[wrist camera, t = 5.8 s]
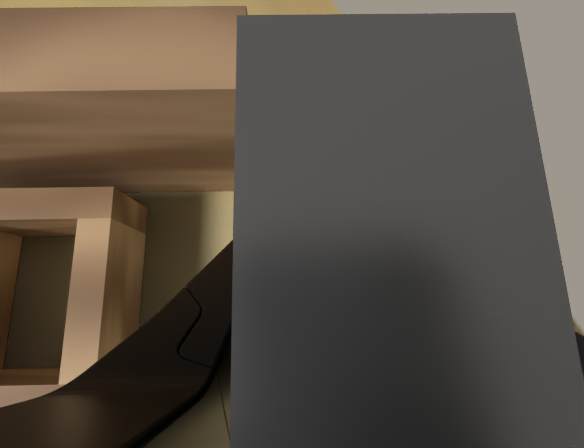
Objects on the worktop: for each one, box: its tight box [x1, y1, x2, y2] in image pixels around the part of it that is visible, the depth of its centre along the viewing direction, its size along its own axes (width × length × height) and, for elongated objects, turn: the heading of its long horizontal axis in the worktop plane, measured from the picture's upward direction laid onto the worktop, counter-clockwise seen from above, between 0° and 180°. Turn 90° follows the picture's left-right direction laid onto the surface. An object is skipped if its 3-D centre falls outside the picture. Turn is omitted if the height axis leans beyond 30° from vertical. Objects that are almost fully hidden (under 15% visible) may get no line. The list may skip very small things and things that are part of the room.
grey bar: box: [230, 13, 584, 448], centre depth 9 cm, size 4×2×13 cm, turn 1°
